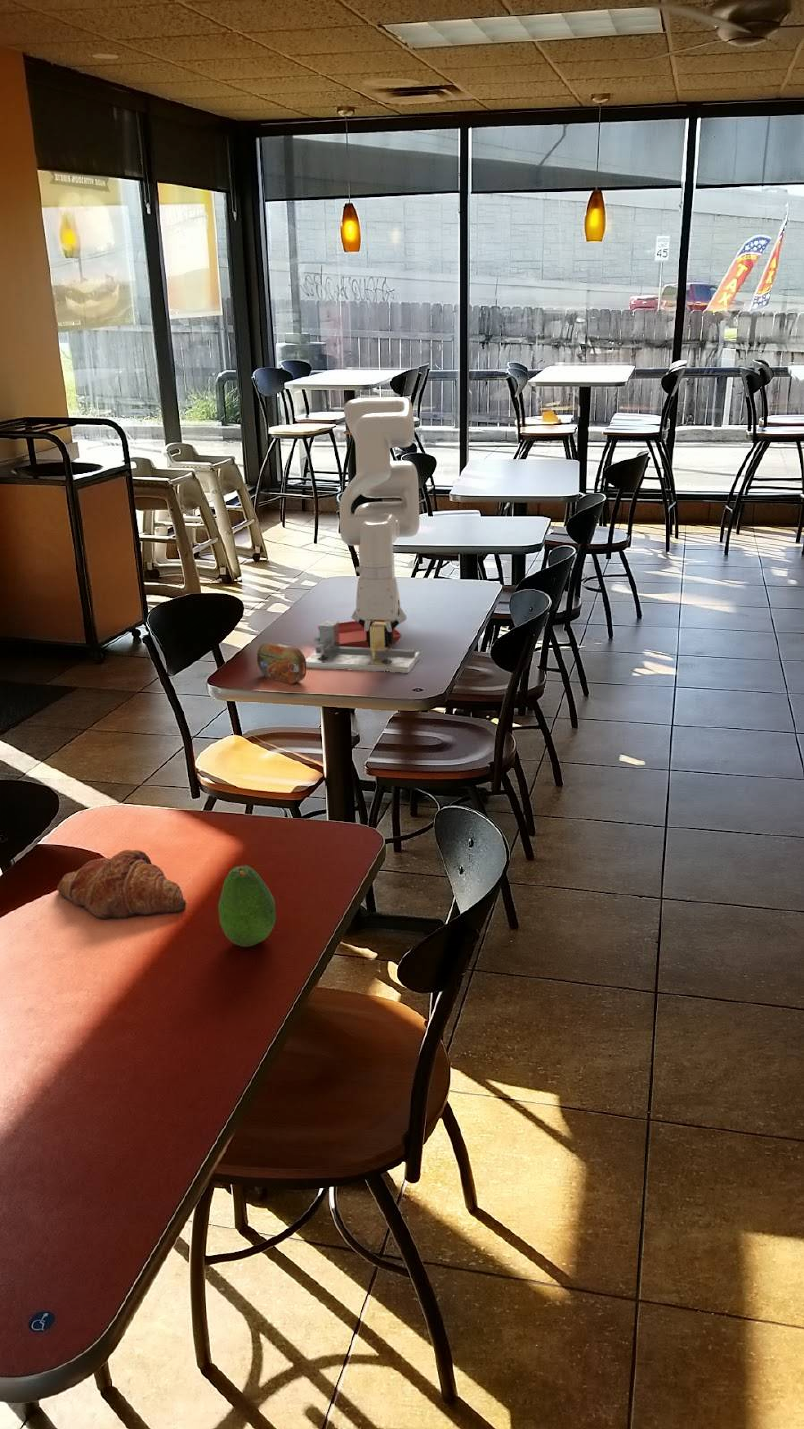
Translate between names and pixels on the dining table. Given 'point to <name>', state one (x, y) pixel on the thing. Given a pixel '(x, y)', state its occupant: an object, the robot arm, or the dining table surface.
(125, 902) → the pastry
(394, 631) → the plant saucer
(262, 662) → the tin
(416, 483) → the robot arm
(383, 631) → the tan stemmed block
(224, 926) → the avocado
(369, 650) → the hole plate
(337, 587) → the dining table surface
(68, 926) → the dining table surface
